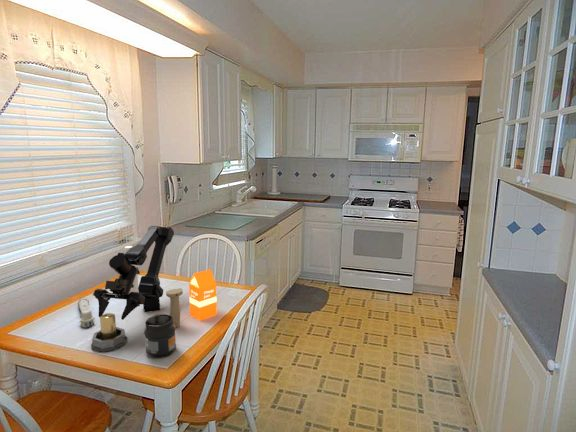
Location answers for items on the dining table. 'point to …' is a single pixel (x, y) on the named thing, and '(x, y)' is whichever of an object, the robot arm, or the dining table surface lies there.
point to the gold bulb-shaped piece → (108, 326)
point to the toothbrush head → (85, 313)
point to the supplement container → (160, 336)
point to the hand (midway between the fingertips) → (110, 318)
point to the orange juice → (203, 295)
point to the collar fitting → (108, 341)
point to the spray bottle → (135, 283)
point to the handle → (175, 304)
